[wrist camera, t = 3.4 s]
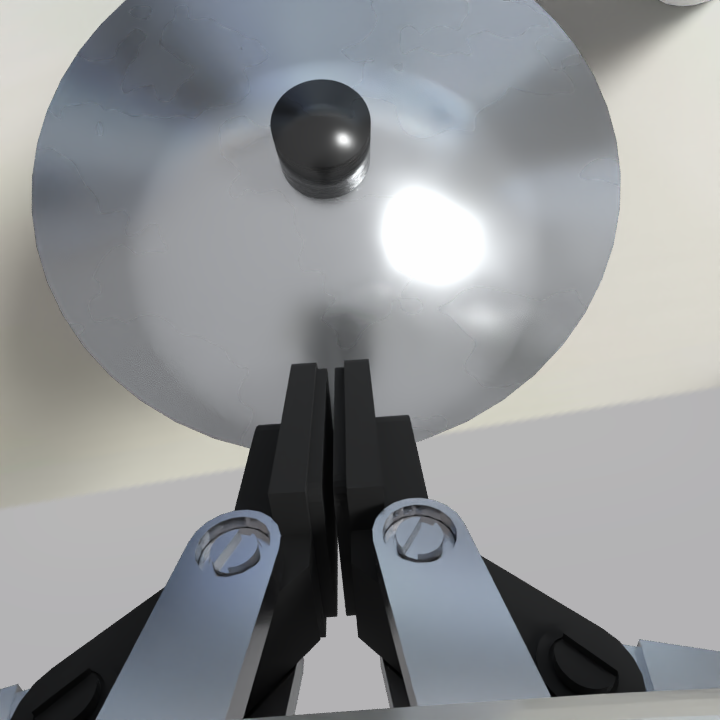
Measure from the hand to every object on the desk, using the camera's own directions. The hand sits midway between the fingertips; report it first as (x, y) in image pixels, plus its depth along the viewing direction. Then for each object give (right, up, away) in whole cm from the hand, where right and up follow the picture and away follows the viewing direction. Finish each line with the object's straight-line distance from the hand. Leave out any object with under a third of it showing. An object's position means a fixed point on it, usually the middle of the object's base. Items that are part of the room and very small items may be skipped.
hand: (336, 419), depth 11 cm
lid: (0, +7, +3) cm, 7 cm away
